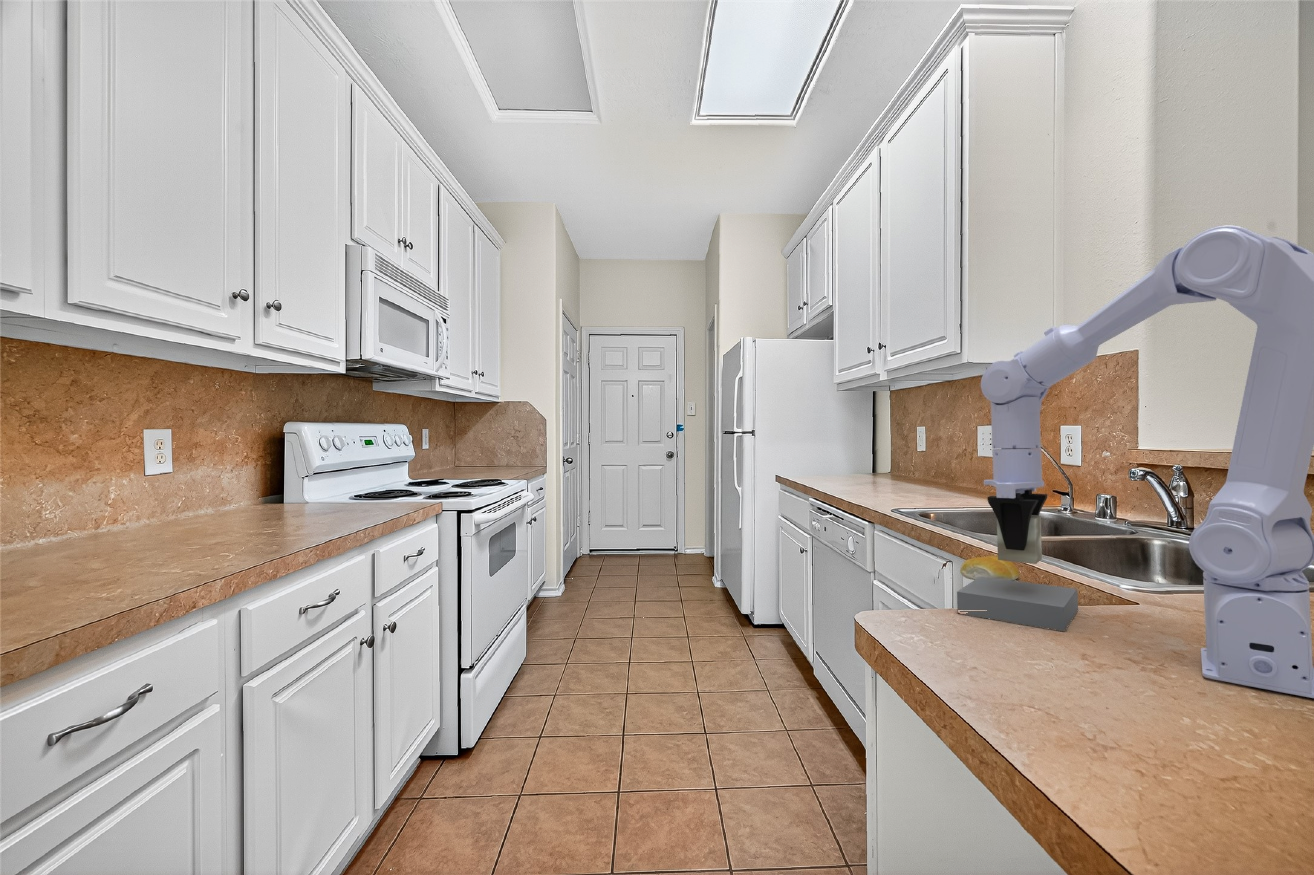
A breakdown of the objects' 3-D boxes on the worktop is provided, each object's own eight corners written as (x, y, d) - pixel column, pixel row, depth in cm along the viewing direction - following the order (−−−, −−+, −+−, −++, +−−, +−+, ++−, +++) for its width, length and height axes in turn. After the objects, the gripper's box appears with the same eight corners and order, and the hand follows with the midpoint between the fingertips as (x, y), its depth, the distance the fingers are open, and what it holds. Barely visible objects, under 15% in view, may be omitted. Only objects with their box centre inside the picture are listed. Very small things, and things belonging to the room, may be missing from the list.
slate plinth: (1064, 631, 69) (1063, 607, 69) (957, 613, 77) (956, 591, 77) (1078, 610, 77) (1077, 588, 77) (980, 596, 86) (980, 576, 86)
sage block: (1035, 564, 74) (1034, 518, 74) (997, 559, 77) (996, 516, 77) (1041, 558, 77) (1040, 515, 77) (1005, 555, 80) (1004, 513, 80)
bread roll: (1026, 578, 97) (1025, 555, 97) (1002, 586, 92) (1001, 562, 92) (976, 570, 104) (976, 549, 104) (951, 577, 99) (951, 555, 99)
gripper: (996, 448, 86) (999, 537, 85) (969, 449, 75) (972, 551, 75) (1052, 448, 81) (1055, 542, 80) (1031, 449, 70) (1035, 557, 70)
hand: (1019, 547), depth 77 cm, fingers closed on sage block, 4 cm apart
